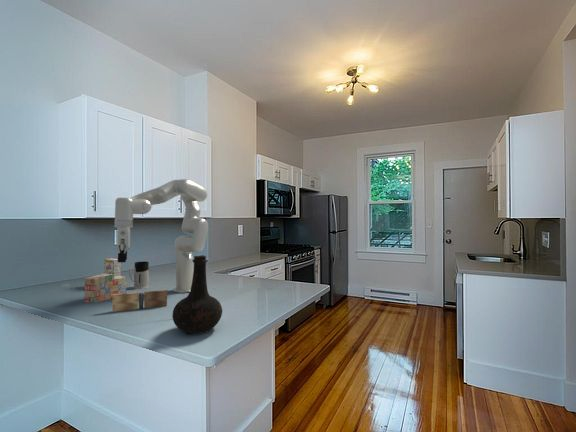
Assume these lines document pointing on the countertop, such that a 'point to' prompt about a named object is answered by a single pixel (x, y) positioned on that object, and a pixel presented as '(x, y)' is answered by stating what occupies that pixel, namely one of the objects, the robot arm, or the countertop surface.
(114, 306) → the panel
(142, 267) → the white and black mug
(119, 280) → the stack of blocks
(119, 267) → the candy bar box
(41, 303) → the countertop surface
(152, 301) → the fixed fence panel
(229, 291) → the countertop surface
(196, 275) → the glass bottle
